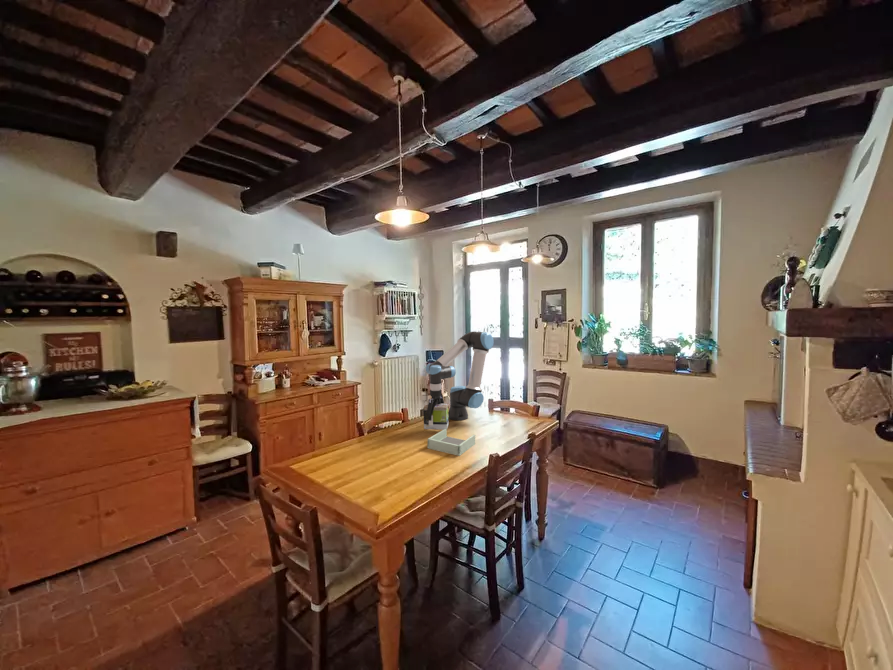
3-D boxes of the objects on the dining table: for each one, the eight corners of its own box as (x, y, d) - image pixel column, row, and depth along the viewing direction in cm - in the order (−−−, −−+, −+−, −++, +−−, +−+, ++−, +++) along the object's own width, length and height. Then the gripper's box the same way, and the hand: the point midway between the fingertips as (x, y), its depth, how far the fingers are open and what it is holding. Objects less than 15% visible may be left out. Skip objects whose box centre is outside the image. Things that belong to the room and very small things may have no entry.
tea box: (448, 424, 241) (448, 403, 239) (446, 430, 231) (446, 407, 229) (426, 424, 243) (425, 402, 241) (423, 429, 233) (423, 407, 231)
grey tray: (444, 437, 228) (445, 428, 228) (475, 444, 218) (475, 435, 217) (427, 448, 211) (427, 439, 211) (459, 455, 201) (459, 446, 200)
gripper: (440, 384, 247) (440, 415, 249) (420, 393, 226) (420, 426, 228) (450, 386, 243) (450, 417, 245) (430, 394, 222) (431, 428, 224)
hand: (436, 422), depth 236 cm, fingers closed on tea box, 12 cm apart
